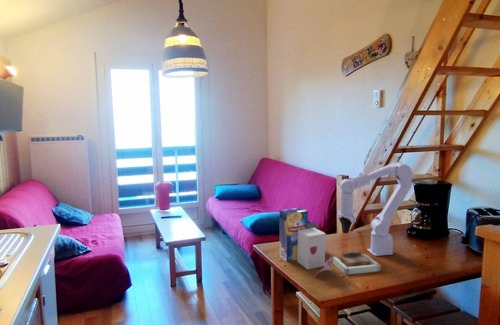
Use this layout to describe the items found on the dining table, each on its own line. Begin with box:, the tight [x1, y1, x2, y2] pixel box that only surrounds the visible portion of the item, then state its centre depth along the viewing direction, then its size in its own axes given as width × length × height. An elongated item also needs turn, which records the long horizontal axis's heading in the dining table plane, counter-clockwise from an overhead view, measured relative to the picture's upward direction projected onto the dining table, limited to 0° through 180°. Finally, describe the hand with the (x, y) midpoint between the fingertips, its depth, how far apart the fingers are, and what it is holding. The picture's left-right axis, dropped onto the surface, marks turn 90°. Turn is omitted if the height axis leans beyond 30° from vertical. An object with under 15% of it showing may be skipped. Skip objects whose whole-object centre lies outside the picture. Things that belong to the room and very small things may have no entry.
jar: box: [308, 222, 320, 230], centre depth 177 cm, size 9×8×12 cm
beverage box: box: [278, 207, 309, 263], centre depth 168 cm, size 7×11×22 cm, turn 115°
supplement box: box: [296, 228, 327, 270], centre depth 160 cm, size 9×9×15 cm
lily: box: [314, 255, 337, 279], centre depth 149 cm, size 12×12×10 cm
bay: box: [332, 253, 382, 276], centre depth 158 cm, size 16×12×2 cm
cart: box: [339, 251, 371, 267], centre depth 158 cm, size 11×7×6 cm, turn 101°
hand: (345, 232), depth 174 cm, fingers closed
